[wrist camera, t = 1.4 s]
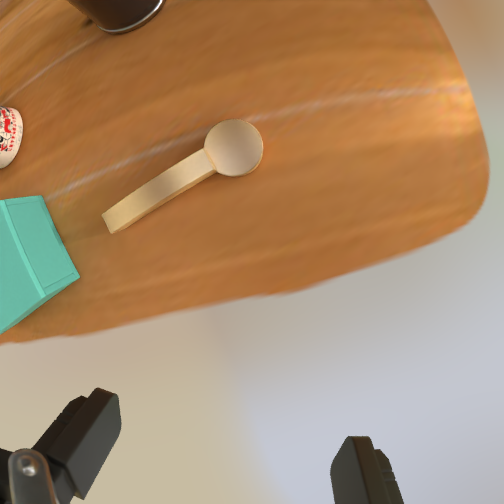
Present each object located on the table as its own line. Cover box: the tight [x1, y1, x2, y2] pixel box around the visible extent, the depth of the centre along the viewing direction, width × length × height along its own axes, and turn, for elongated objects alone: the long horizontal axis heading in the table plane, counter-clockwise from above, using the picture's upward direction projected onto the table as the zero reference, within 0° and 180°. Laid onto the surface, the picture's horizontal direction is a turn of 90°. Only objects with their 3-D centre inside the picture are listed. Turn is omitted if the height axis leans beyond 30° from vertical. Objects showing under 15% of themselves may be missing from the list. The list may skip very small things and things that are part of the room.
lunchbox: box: [0, 195, 80, 334], centre depth 29 cm, size 18×12×7 cm, turn 118°
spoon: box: [102, 119, 263, 234], centre depth 27 cm, size 17×5×3 cm, turn 118°
